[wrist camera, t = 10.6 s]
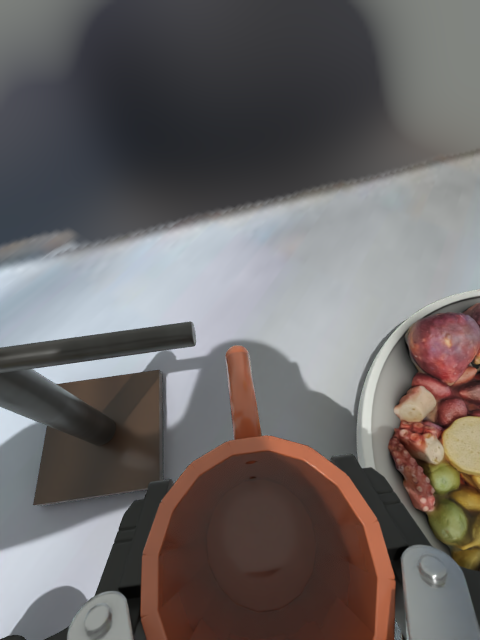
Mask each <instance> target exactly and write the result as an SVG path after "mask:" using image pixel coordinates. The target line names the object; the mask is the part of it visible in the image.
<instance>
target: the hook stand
mask: <svg viewBox="0 0 480 640" xmlns="http://www.w3.org/2000/svg"><path fill="white" fill-rule="evenodd" d="M195 345H196V335H195V329H194V325H193V323H192V322H184V323H177V324H169V325H162V326H155V327H148V328H140V329H133V330H126V331H118V332H111V333H104V334H96V335H89V336H82V337H75V338H67V339H60V340H53V341H45V342H38V343H31V344H23V345H16V346H9V347H1V348H0V407H2V408H5V409H7V410H10V411H12V412H15V413H17V414H20V415H22V416H24V417H27V418H29V419H32V420H34V421H37V422H39V423H42V424H44V425H47V429H46V434H45V440H44V446H43V452H42V457H41V463H40V469H39V474H38V480H37V486H36V492H35V497H34V503H33V505H40V506H42V505H49V504H56V503H62V502H69V501H76V500H82V499H89V498H96V497H102V496H109V495H116V494H123V493H129V492H136V491H143V490H147V488H148V485H149V483H150V482H153V481H160V480H163V384H162V373H161V372H160V370H155V371H147V372H140V373H133V374H126V375H119V376H112V377H105V378H97V379H90V380H83V381H76V382H69V383H62V384H55V383H53V382H52V381H50V380H49V379H47V378H45V377H44V376H42V375H41V374H39V373H37V372H36V371H34V370H33V369H34V368H41V367H48V366H56V365H63V364H70V363H77V362H84V361H92V360H99V359H106V358H113V357H120V356H128V355H135V354H142V353H149V352H156V351H164V350H171V349H178V348H185V347H192V346H195Z"/></svg>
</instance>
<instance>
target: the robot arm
mask: <svg viewBox="0 0 480 640" xmlns="http://www.w3.org/2000/svg"><path fill="white" fill-rule="evenodd" d="M331 463H333V464H334V465H335V466H337V467H338V468H339V469H341V470H342V471H343V472H345V473H346V474H347V476H349V477H350V479H351V480H352V482H353V483H354V485H355V486H356V488H357V489H358V491H359V492H360V494H361V495H362V496H363V498H364V499H365V501H366V502H367V504H368V505H369V507H370V508H371V510H372V511H373V513H374V514H375V516H376V517H377V521H379V524H380V527H381V531H382V534H383V537H384V541H385V544H386V547H387V551H388V554H389V558H390V561H391V564H392V568H393V571H394V575H395V581H396V595H395V619H396V621H397V623H398V626H399V628H400V630H401V640H480V571H475V570H471V569H467V568H464V567H461V566H459V565H458V564H457V563H456V562H455V561H454V560H453V559H452V558H451V557H450V556H449V555H447V554H446V553H444V552H443V551H441V550H439V549H437V548H434V547H433V546H432V545H431V544H430V542H429V541H428V539H427V538H426V536H425V535H424V534H423V532H422V531H421V529H420V528H419V526H418V525H417V523H416V522H415V520H414V519H413V518H412V516H411V515H410V513H409V512H408V510H407V509H406V507H405V506H404V504H403V503H401V501H400V499H399V497H398V496H397V494H396V493H395V492H394V491H393V489H392V487H391V486H390V484H389V483H388V481H387V480H386V478H385V477H384V476H383V475H381V474H380V473H379V472H377V471H376V470H375V469H373V468H372V467H369V468H361V466H360V464H359V463H358V461H357V459H356V458H355V456H354V455H353V454H346V455H339V456H332V457H331ZM173 485H174V484H173V481H172V479H167V480H160V481H153V482H150V483H149V485H148V488H147V492H146V495H145V498H144V499H142V500H135V501H134V502H133V503H132V505H131V506H130V507H129V508H128V510H127V511H126V512H125V513H124V516H123V518H122V521H121V524H120V527H119V532H117V535H116V538H115V541H114V544H113V546H112V549H111V552H110V555H109V558H108V560H107V563H106V566H105V569H104V572H103V574H102V577H101V580H100V583H99V586H98V588H97V591H96V594H95V596H94V597H93V598H91V599H90V600H89V601H87V602H86V603H85V604H84V605H83V606H82V607H81V608H80V610H79V611H78V612H77V613H76V615H75V616H74V618H73V620H72V622H71V624H70V626H69V627H67V628H66V629H64V630H62V631H61V632H59V633H57V634H55V635H53V636H51V637H49V638H47V639H44V640H146V637H145V633H144V630H143V626H142V623H141V617H140V602H141V567H142V555H143V550H144V547H145V544H146V541H147V538H148V536H149V533H150V530H151V527H152V524H153V521H154V518H155V515H156V513H157V510H158V507H159V504H160V503H161V501H162V499H163V498H164V496H165V495H166V494H167V492H168V491H169V490H170V489H171V487H172V486H173ZM0 640H26V639H25V638H24V637H22V636H19V635H11V636H7V637H5V638H2V639H0Z"/></svg>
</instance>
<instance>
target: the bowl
mask: <svg viewBox="0 0 480 640" xmlns="http://www.w3.org/2000/svg"><path fill="white" fill-rule="evenodd" d="M356 437H357V455H358V463H359V464H360V466H361V468H369V467H372V468H373V469H375V470H376V471H377V472H379V473H380V474H381V475H383V476H384V477H385V478H386V480H387V481H388V483H389V484H390V486H391V487H392V489H393V491H394V492H395V493H396V494H397V496H398V497H399V499H400V501H401V503H403V504H404V506H405V507H406V509H407V510H408V512H409V513H410V515H411V516H412V518H413V519H414V520H415V522H416V523H417V525H418V526H419V528H420V529H421V531H422V532H423V534H424V535H425V536H426V538H427V539H428V541H429V542H430V544H431V545H432V546H433V547H434V548H437V549H439V550H441V551H443V552H444V553H446V554H447V555H449V556H450V557H451V558H452V559H453V560H454V561H455V562H456V563H457V564H458V565H459V566H461V567H464V568H467V569H471V570H475V571H480V289H479V290H473V291H467V292H463V293H459V294H455V295H452V296H449V297H446V298H443V299H441V300H438V301H436V302H434V303H432V304H430V305H428V306H426V307H424V308H422V309H421V310H419V311H418V312H416V313H415V314H413V315H412V316H411V317H409V318H408V319H407V320H406V321H404V322H403V323H402V324H401V325H400V326H399V327H398V328H397V329H396V330H395V331H394V332H393V334H392V335H391V336H390V337H389V339H388V340H387V341H386V342H385V344H384V345H383V346H382V348H381V350H380V351H379V353H378V354H377V356H376V358H375V359H374V361H373V363H372V365H371V367H370V370H369V372H368V374H367V377H366V380H365V383H364V386H363V389H362V393H361V397H360V402H359V408H358V416H357V434H356Z"/></svg>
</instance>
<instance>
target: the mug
mask: <svg viewBox="0 0 480 640" xmlns="http://www.w3.org/2000/svg"><path fill="white" fill-rule="evenodd" d="M225 361H226V370H227V379H228V388H229V397H230V407H231V416H232V425H233V434H234V440H229V441H227V442H225V443H223V444H221V445H220V446H218V447H216V448H215V449H213V450H211V451H210V452H208V453H206V454H205V455H203V456H201V457H200V458H198V459H196V460H195V461H193V462H192V463H191V464H189V466H188V467H187V468H186V469H185V471H184V472H183V473H182V475H181V476H180V477H179V478H178V480H177V481H176V482H175V483H174V485H173V486H172V487H171V489H170V490H169V491H168V492H167V494H166V495H165V496H164V498H163V499H162V501H161V503H160V504H159V507H158V510H157V513H156V515H155V518H154V521H153V524H152V527H151V530H150V533H149V536H148V538H147V541H146V544H145V547H144V550H143V555H142V567H141V602H140V617H141V623H142V626H143V630H144V633H145V637H146V640H394V637H395V595H396V581H395V575H394V571H393V568H392V564H391V561H390V558H389V554H388V551H387V547H386V544H385V541H384V537H383V534H382V531H381V527H380V524H379V521H377V517H376V516H375V514H374V513H373V511H372V510H371V508H370V507H369V505H368V504H367V502H366V501H365V499H364V498H363V496H362V495H361V494H360V492H359V491H358V489H357V488H356V486H355V485H354V483H353V482H352V480H351V479H350V477H349V476H347V474H346V473H345V472H343V471H342V470H341V469H339V468H338V467H337V466H335V465H334V464H333V463H331V462H330V461H329V460H327V459H326V458H325V457H323V456H322V455H321V454H319V453H318V452H317V451H315V450H314V449H313V448H311V447H309V446H307V445H303V444H300V443H296V442H292V441H289V440H285V439H281V438H278V437H274V436H268V435H265V436H262V434H261V428H260V421H259V414H258V408H257V401H256V395H255V388H254V382H253V375H252V369H251V362H250V356H249V352H248V350H247V349H246V348H245V347H243V346H241V345H234V346H232V347H230V348H229V349H228V350H227V352H226V355H225Z"/></svg>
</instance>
